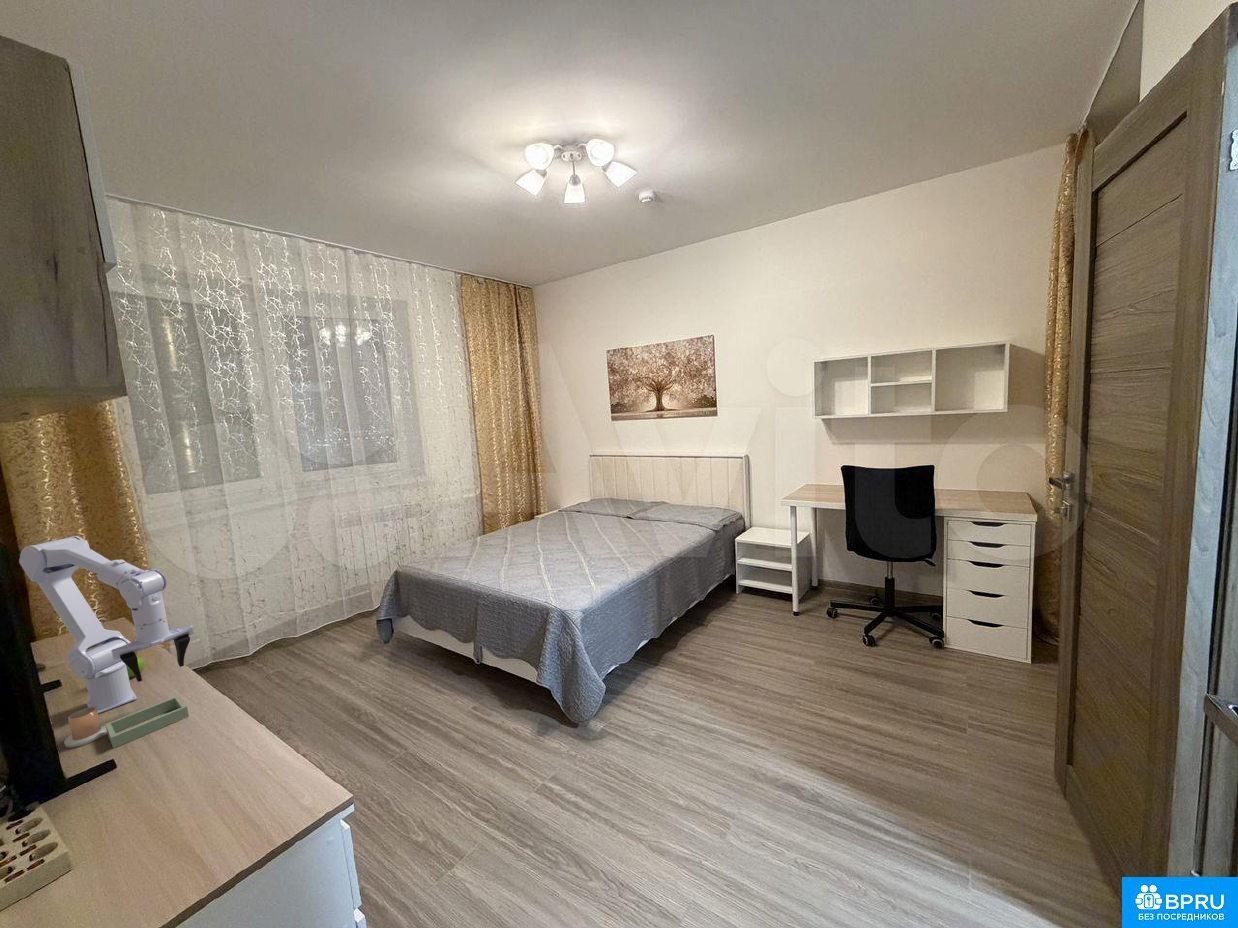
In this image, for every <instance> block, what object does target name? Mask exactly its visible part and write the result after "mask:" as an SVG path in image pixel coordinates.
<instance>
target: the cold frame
mask: <svg viewBox="0 0 1238 928" xmlns="http://www.w3.org/2000/svg"><path fill="white" fill-rule="evenodd" d="M177 708H178V709H177ZM171 710H172V711H171ZM169 711H170V712H169ZM167 712H168V713H167ZM163 713H165V714H163ZM161 714H162V715H161ZM189 715H190V714H189V710H188V706H187V704H186V703H185V702H184V701H183V700H182V698H181V696H180V695H176V696H173V697H171V698H170V697H169V698H168V699H166V700H162V701H160V702H158V703H156V704H153V705H151V706H148V707H145V708H143V709H139V710H138V711H135V712H132V713H129V714H128V715H127V714H126V715H125V716H123V717H120V718H116V719H115V720H112V721H109V722H106V723H107V724H105V726H106V730H107V734H106V735H107V737H108V739H109V741H110V743H111V745H112V748H113V749H115V748H118V747H119V746H122V745H124V744H127V743H130V742H132V741H134V740H136V739H138V738H141V737H144V736H146V735H149V734H150V733H153V732H155V731H158V730H159V729H162V728H165V727H167V726H170V725H172V724H173V723H176V722H179V721H181V720H183V718H184V719H185V718H186V719H187V717H188V718H189V717H190V716H189ZM151 718H152V719H151ZM149 719H150V720H149ZM146 720H147V721H146ZM137 724H138V725H137ZM132 726H133V727H132ZM129 727H130V728H129ZM127 728H128V729H127ZM122 730H123V731H122ZM120 731H121V732H120ZM117 732H118V733H117Z"/></svg>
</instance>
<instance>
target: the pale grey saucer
mask: <svg viewBox="0 0 1238 928" xmlns="http://www.w3.org/2000/svg"><path fill="white" fill-rule="evenodd" d="M107 723H108V722H100V725H101V730H100V731H99V732H97V733H95V734H94V735H92V736H89V737H87V738H84V739H80V740H73V739H72V734H71V733H70V735H68V736H67V737H66V738H65V739H64V741H63V743H64V746H65V748H69V749H72V748H78V747H81V746H85V745H88V744H90V743H92V742H95V741H97V740H99V739H101V738H102V737H104V736H106V735H107V730H106V726H105V724H107Z"/></svg>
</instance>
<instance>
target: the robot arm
mask: <svg viewBox="0 0 1238 928" xmlns="http://www.w3.org/2000/svg"><path fill="white" fill-rule="evenodd" d="M18 563H19V565H20V567H22V569H23V571H24V572H25V574H26V575H27V577H28V579H29V580H30V581H31V582H32V583H37V584H38V586H39V588H40V589H41V590H42V592H43V594H44V595H45V597H46V599H47V600H48V601H49V603H50V604H51V607H52V609H54V611H55V612H56V614H57V615H58V617H59V618H60V620H61V621H62V623H63V624H64V626H65V627H66V629H67V631H68V632H69V633H70V636H72V638H73V640H74V644H73V645H72V647H71V648H70V649H69V651H68V652H67V654H66V658H67V660H68V663H69V665H70V670H71V672H72V674H73V675H74V676H76V677H77V678H80V679H84V680H85V686H86V689H87V693H88V694H87V695H88V698H89V701H87V702H86V706H87V708H90V707H97V711H98V714H101V713H103V712H106V711H109V710H111V709H115V708H117V707H119V706H122V705H124V704H128V703H130V702H132V701H135V700H136V699H137V695H136V694H135V692H134V690H133V689H132V687H131V683H130V677H128V672H127V667H126V665H127V666H128V667H129V668H130V669H131V670H132V671H133V673H134V674H135V676H134V677H135V678H136V681H137V682H138V683H140V682H142V681H143V678H142V674H141V673H140V671H139V666H138V660H137V657H138V655H137V656H136V654H135V653H134V652H136V651H138V652H140V651H143V650H145V649H148V648H152V647H155V646H158V645H161V644H164V643H168V642H170V641H173V642H174V646H175V650H176V658H177V664H178V666H179V667H181V668H182V667H184V666H185V656H186V652H187V649H188V646H189V644H190V642H191V636H192V635H194V634H195V630H194V626H193V625H192V624H191V625H187V626H184V627H178V628H175V629H174V628H173V629H170V628H169V623H168V618H167V613H166V612H167V611H166V609H165V607H166V606H165V602H164V596H163V591H164V590H165V589H166V587H167V586H168V585H167V584H168V582H167V581H168V580H167V578H166V576H165V575H164V574H163V573H162V572H161V571H160V570H158V569H150V570H148V569H146V570H143V569H142V568H139V567H137V566H135V565H133V564H132V563H129V562H126V561H125V560H124V559H113V560H110V559H109V558H106V557H105V556H103V555H101V554H100V553H99V552H96V551H95V550H93V549H91V548H90V545H89V542H88V540H86V539H83V538H82V537H81V536H78V535H72V536H71V535H70V536H69V537H65V538H60V539H56V540H53V541H47V542H43V543H38V544H34V545H33V544H31V545H26V546H25V547H24V548H22V550H21V552H20V555H19V561H18ZM80 568H81V569H85V570H87V571H90V572H92V573H95V574H96V577H97V580H98V581H100V582H102V583H104V584H106V585H108V586H110V587H112V588H115V589H117V590H119V593H120V595H121V597H122V598H123V599H124V602H126V606H127V607H128V608H129V609H130V610H131V616H132V620H133V624H134V632H135V634H136V635H135V636H137V638H136V640H137V641H134V642H132V641H130V640H129V639H127V638H126V637H125V636H123V634H122V633H121V632H120V631H119V630H113V629H105V628H104V626H103V625H102V622H100V620H99V619H98V617H97V615H96V613H95V612H94V610H93V609H92V607H91V606H90V604H89V603H88V601H87V600H86V598H85V597H84V595H83V594H82V592H81V590H80V589H79V588H78V586H77V584H76V583H75V582H74V580H73V578H72V576H73V573H75V572H76V571H78V570H79V569H80ZM131 642H132V643H131Z"/></svg>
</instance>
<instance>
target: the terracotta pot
mask: <svg viewBox="0 0 1238 928" xmlns="http://www.w3.org/2000/svg"><path fill="white" fill-rule="evenodd" d="M67 720H68V725H69V729H70V735H71V734H72V739H73V740H80V739H84V738H87V737H89V736H92V735H94V734H95V733H97V732H99V731H100V730H101V725H100V723H101V721H100V716H99V713H98V711H97V707H90V708H88V707H87V708H82V709H80V710H78V711H75V712H73V713H72V714H70V715H68V717H67Z"/></svg>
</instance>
